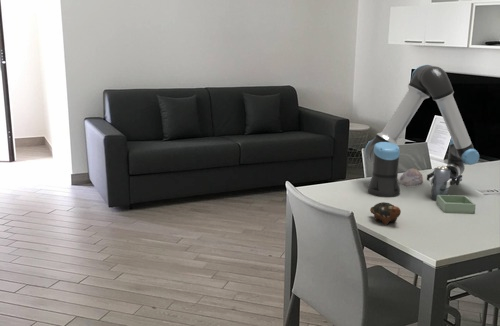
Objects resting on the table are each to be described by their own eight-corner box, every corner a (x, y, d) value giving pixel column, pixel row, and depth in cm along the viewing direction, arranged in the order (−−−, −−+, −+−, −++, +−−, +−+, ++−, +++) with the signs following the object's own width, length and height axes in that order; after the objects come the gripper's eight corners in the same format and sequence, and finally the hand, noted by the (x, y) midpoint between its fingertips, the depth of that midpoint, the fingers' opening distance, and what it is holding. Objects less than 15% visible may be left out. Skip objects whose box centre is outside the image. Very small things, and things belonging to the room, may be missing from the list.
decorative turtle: (392, 229, 206) (392, 209, 204) (362, 221, 218) (362, 202, 216) (408, 223, 211) (408, 204, 210) (378, 215, 224) (378, 197, 222)
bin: (444, 212, 227) (445, 203, 226) (436, 203, 239) (437, 194, 238) (474, 213, 226) (475, 204, 225) (464, 204, 238) (465, 195, 237)
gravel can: (433, 200, 242) (437, 167, 238) (429, 196, 249) (432, 164, 245) (449, 201, 242) (453, 168, 238) (444, 196, 248) (448, 164, 245)
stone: (405, 197, 268) (420, 185, 262) (392, 181, 269) (407, 170, 264) (414, 189, 282) (429, 178, 277) (401, 174, 284) (416, 163, 278)
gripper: (471, 183, 254) (460, 195, 235) (428, 177, 264) (415, 187, 245) (473, 168, 252) (462, 178, 233) (430, 162, 262) (417, 172, 244)
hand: (438, 183), depth 239 cm, fingers closed on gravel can, 7 cm apart
